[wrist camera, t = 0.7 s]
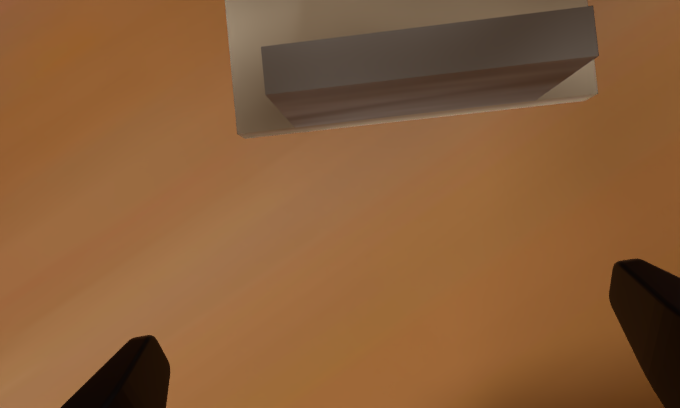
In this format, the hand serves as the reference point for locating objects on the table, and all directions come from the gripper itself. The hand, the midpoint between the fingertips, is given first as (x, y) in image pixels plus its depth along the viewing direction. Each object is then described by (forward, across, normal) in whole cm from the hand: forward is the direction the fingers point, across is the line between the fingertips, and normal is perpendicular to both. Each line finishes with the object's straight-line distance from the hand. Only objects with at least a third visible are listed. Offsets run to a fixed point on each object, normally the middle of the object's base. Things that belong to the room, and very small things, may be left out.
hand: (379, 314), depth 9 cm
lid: (+13, -3, -5) cm, 14 cm away
